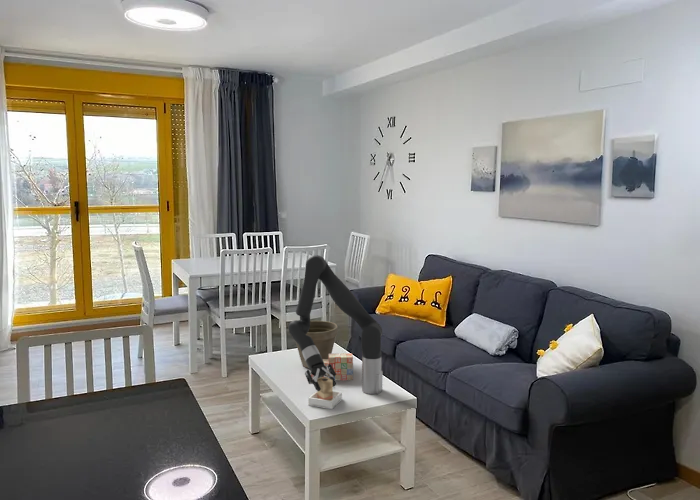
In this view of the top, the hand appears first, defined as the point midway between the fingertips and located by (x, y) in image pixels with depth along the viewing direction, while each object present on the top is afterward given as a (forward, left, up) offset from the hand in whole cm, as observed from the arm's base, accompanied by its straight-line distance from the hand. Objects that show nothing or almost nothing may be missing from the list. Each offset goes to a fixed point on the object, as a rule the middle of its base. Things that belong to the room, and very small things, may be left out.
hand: (327, 388), depth 252 cm
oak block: (+1, -1, -6) cm, 7 cm away
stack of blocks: (+11, -29, -8) cm, 32 cm away
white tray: (+1, -1, -7) cm, 7 cm away
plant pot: (+27, -45, -7) cm, 53 cm away
